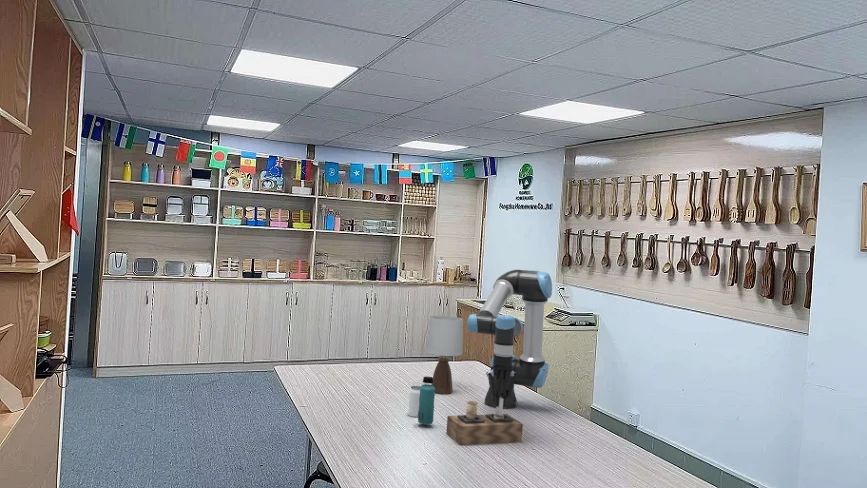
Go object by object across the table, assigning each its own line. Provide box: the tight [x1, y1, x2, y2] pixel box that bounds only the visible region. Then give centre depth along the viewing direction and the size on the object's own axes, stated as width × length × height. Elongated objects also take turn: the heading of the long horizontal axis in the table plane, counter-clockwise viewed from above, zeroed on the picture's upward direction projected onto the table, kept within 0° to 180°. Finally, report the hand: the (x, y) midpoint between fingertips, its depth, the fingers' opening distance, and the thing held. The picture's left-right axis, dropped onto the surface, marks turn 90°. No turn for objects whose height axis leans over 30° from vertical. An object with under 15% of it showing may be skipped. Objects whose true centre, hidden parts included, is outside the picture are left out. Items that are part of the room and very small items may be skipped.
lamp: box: [425, 315, 464, 395], centre depth 327 cm, size 19×19×37 cm
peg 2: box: [493, 413, 504, 419], centre depth 258 cm, size 4×4×8 cm
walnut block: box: [445, 413, 524, 446], centre depth 256 cm, size 26×14×8 cm, turn 110°
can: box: [407, 385, 421, 418], centre depth 281 cm, size 6×6×12 cm
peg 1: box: [465, 400, 478, 420], centre depth 254 cm, size 4×4×8 cm
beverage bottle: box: [417, 376, 436, 425], centre depth 267 cm, size 6×7×20 cm
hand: (499, 414), depth 258 cm, fingers closed
